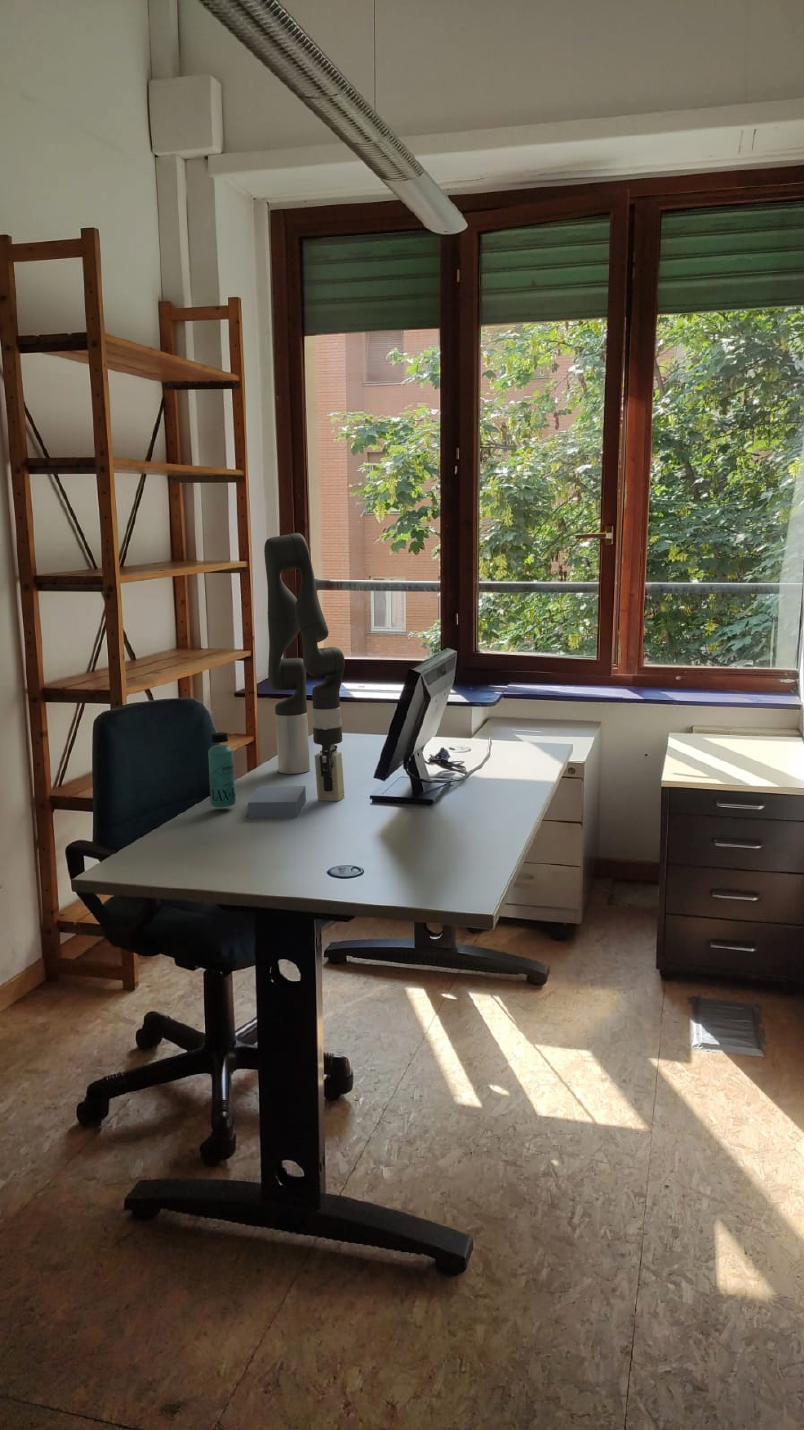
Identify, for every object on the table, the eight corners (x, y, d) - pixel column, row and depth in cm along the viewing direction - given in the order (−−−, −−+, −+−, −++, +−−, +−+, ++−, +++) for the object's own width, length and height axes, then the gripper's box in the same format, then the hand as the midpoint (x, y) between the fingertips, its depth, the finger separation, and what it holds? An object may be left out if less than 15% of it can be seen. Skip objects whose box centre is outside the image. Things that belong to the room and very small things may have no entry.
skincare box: (344, 797, 278) (342, 752, 276) (338, 801, 274) (336, 755, 271) (322, 796, 280) (320, 751, 278) (316, 800, 275) (314, 755, 273)
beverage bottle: (205, 811, 268) (200, 734, 264) (221, 805, 274) (216, 729, 270) (226, 814, 265) (221, 736, 261) (242, 807, 271) (237, 731, 267)
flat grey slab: (260, 803, 276) (259, 786, 275) (306, 802, 276) (305, 785, 275) (248, 820, 261) (247, 802, 260) (297, 819, 260) (296, 801, 259)
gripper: (317, 719, 280) (320, 782, 283) (307, 730, 266) (311, 795, 269) (345, 719, 280) (348, 781, 283) (337, 729, 266) (340, 795, 269)
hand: (330, 788), depth 276 cm, fingers closed on skincare box, 5 cm apart
